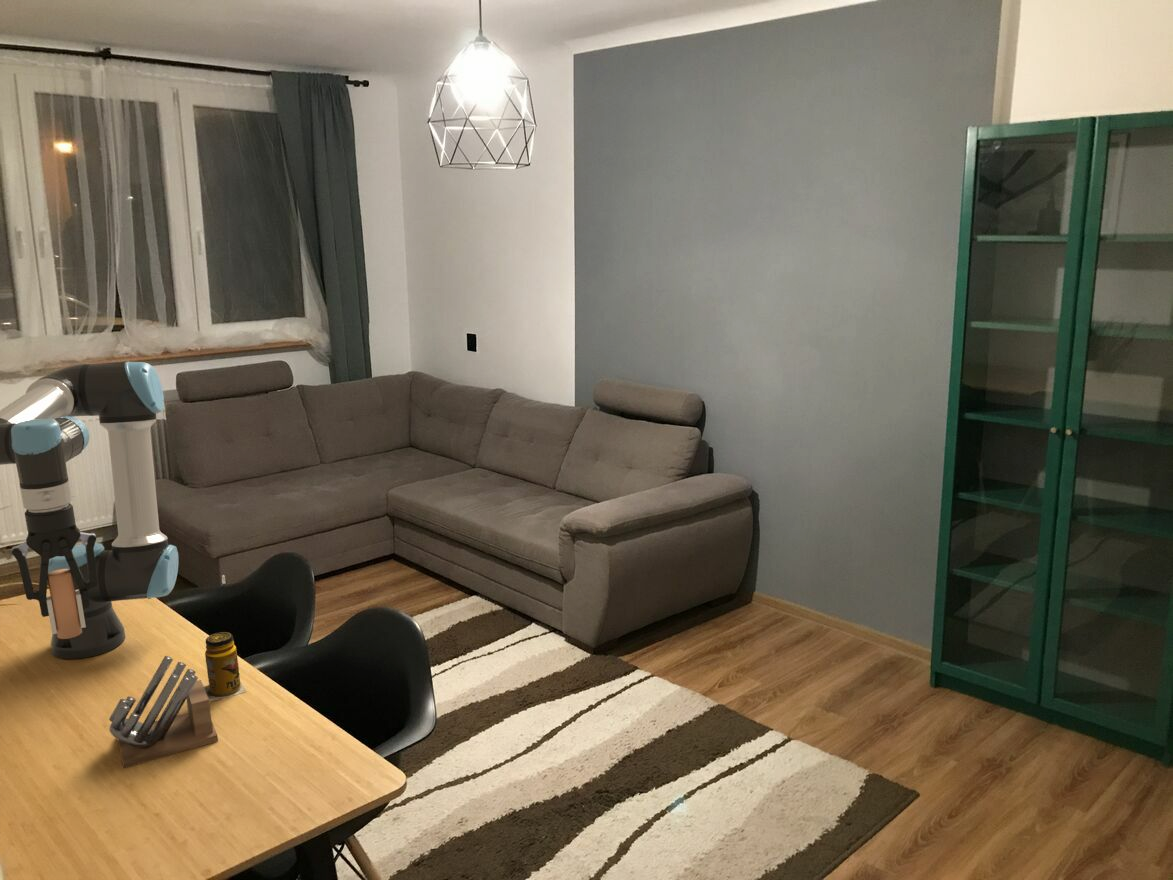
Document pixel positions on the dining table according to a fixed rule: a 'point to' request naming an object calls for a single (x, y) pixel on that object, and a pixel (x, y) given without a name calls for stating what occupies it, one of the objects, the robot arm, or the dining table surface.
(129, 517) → the robot arm
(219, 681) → the condiment
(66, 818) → the dining table surface
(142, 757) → the socket base
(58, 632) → the peg
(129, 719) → the socket
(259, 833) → the dining table surface
